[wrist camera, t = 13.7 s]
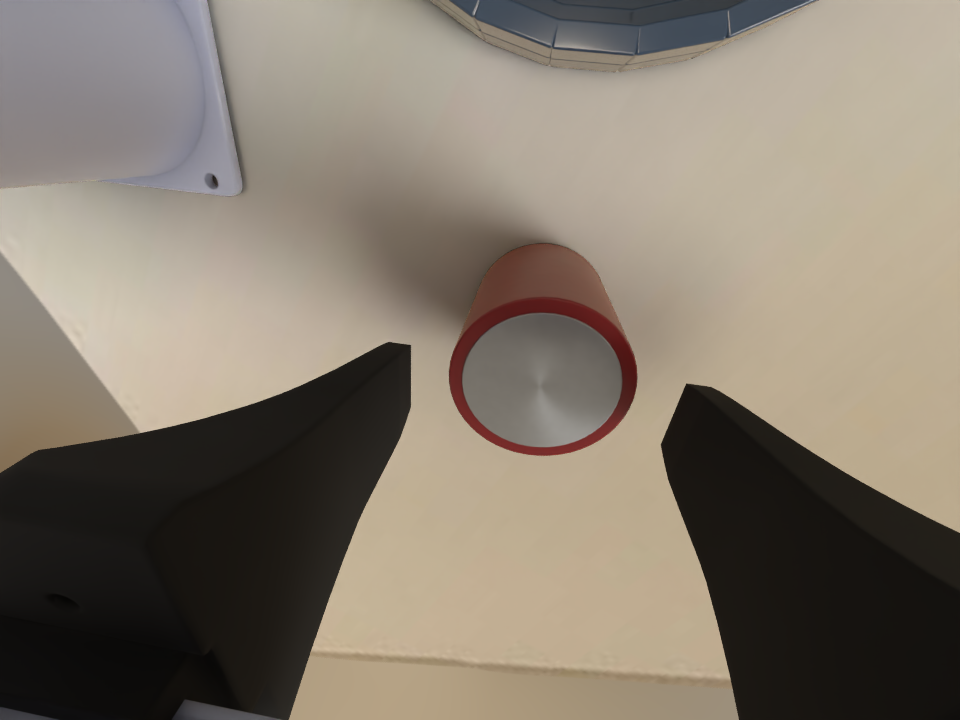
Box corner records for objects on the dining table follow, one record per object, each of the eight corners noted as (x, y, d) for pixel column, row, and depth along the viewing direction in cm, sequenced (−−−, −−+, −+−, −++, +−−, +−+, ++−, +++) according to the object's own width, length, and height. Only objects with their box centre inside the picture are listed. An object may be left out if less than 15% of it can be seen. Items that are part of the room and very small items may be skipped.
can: (472, 353, 18) (444, 443, 12) (482, 235, 15) (452, 285, 10) (588, 370, 17) (610, 469, 12) (620, 251, 15) (665, 312, 9)
